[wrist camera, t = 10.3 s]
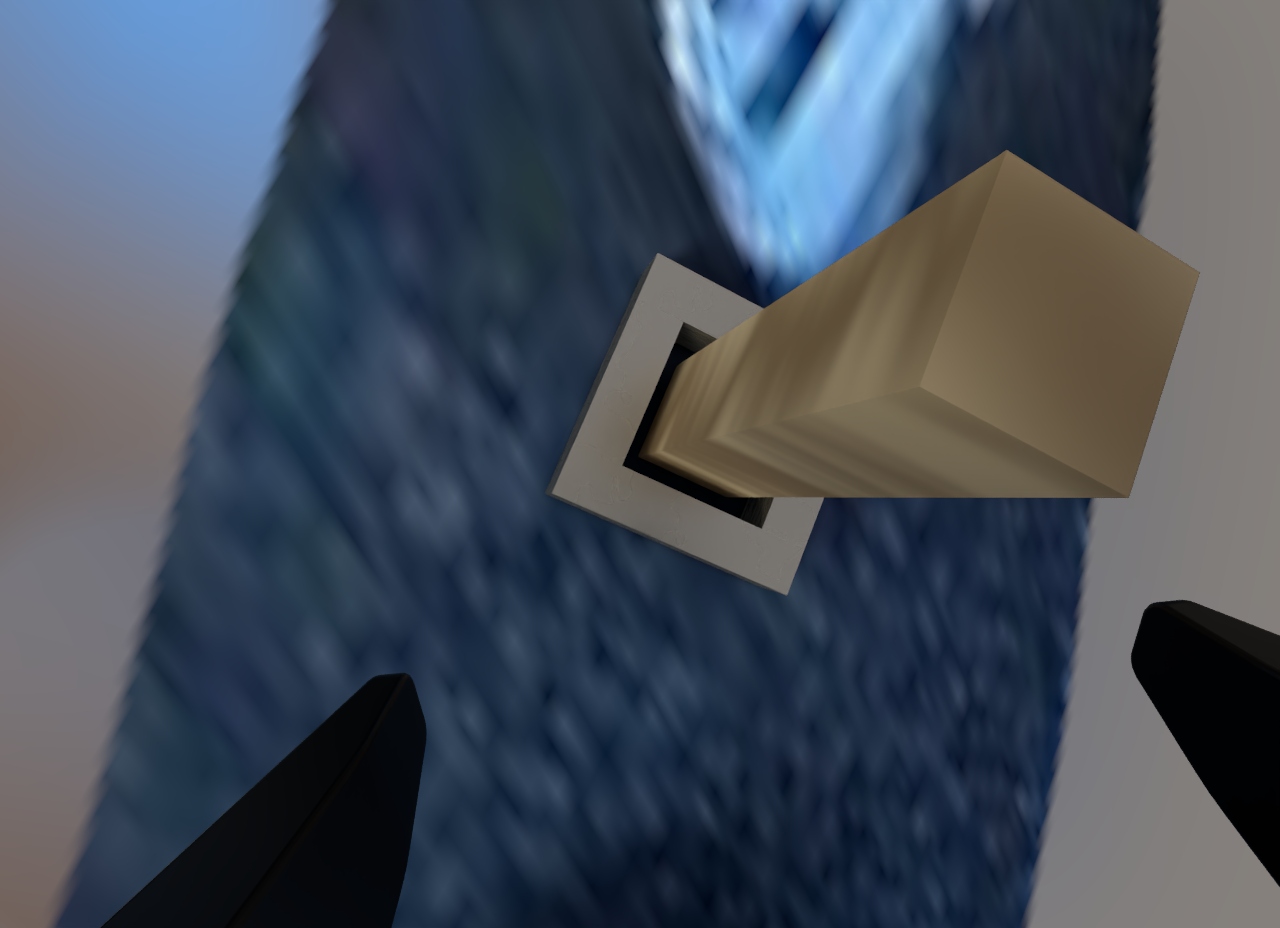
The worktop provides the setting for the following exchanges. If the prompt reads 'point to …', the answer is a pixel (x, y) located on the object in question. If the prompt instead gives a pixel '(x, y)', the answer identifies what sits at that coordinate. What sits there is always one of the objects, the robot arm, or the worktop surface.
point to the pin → (944, 359)
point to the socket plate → (613, 412)
